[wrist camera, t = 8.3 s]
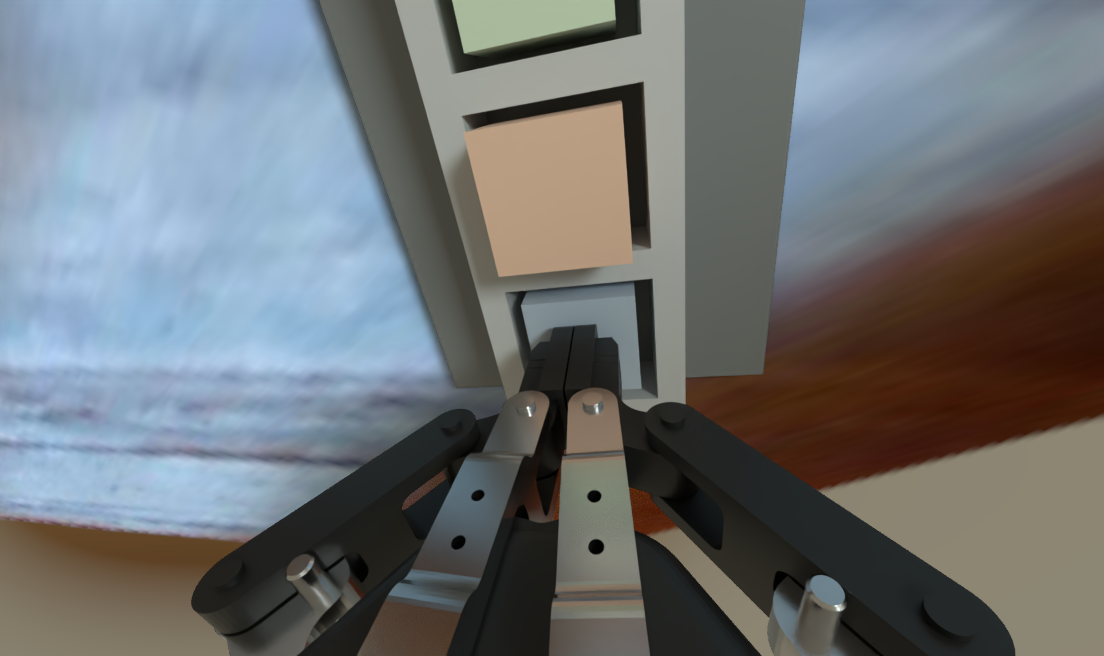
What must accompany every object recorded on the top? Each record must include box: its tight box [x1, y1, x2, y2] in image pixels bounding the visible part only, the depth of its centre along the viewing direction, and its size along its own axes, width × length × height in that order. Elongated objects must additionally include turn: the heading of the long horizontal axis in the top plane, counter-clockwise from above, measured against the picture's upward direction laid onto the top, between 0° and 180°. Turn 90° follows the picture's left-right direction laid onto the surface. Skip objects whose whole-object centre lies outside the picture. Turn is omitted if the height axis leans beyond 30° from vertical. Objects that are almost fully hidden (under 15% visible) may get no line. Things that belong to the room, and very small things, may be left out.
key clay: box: [463, 100, 633, 277], centre depth 12 cm, size 4×4×3 cm
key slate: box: [521, 280, 641, 389], centre depth 15 cm, size 4×4×3 cm
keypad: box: [319, 0, 805, 412], centre depth 12 cm, size 14×24×4 cm, turn 9°
